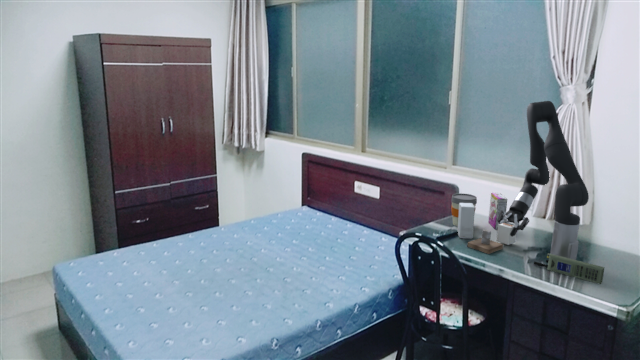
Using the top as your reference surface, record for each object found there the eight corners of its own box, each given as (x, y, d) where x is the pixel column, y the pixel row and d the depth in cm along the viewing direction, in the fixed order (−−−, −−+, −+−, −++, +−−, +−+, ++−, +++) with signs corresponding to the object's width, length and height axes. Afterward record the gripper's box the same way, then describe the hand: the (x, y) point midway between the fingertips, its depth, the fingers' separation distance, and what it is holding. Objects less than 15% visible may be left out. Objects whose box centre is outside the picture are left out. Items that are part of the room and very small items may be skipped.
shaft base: (502, 248, 216) (504, 231, 214) (488, 254, 209) (490, 236, 207) (481, 241, 224) (483, 225, 222) (467, 246, 217) (468, 229, 216)
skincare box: (472, 239, 227) (475, 207, 223) (458, 238, 228) (461, 206, 224) (470, 233, 235) (473, 202, 231) (456, 232, 236) (458, 201, 232)
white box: (515, 242, 220) (517, 224, 218) (508, 244, 216) (510, 227, 215) (503, 238, 225) (505, 221, 223) (496, 241, 221) (498, 223, 219)
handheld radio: (600, 285, 181) (532, 266, 197) (602, 283, 183) (534, 264, 199) (603, 268, 180) (534, 251, 196) (605, 266, 182) (536, 249, 198)
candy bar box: (487, 222, 251) (490, 192, 247) (497, 222, 251) (500, 192, 247) (494, 229, 240) (497, 198, 236) (504, 230, 240) (508, 198, 236)
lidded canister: (458, 219, 256) (461, 192, 253) (479, 225, 247) (482, 197, 243) (444, 223, 248) (446, 195, 245) (465, 230, 239) (467, 201, 235)
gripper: (504, 196, 226) (488, 225, 222) (533, 203, 215) (516, 233, 211) (510, 205, 231) (493, 233, 226) (538, 212, 220) (522, 242, 215)
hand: (504, 233), depth 219 cm, fingers closed on white box, 6 cm apart
